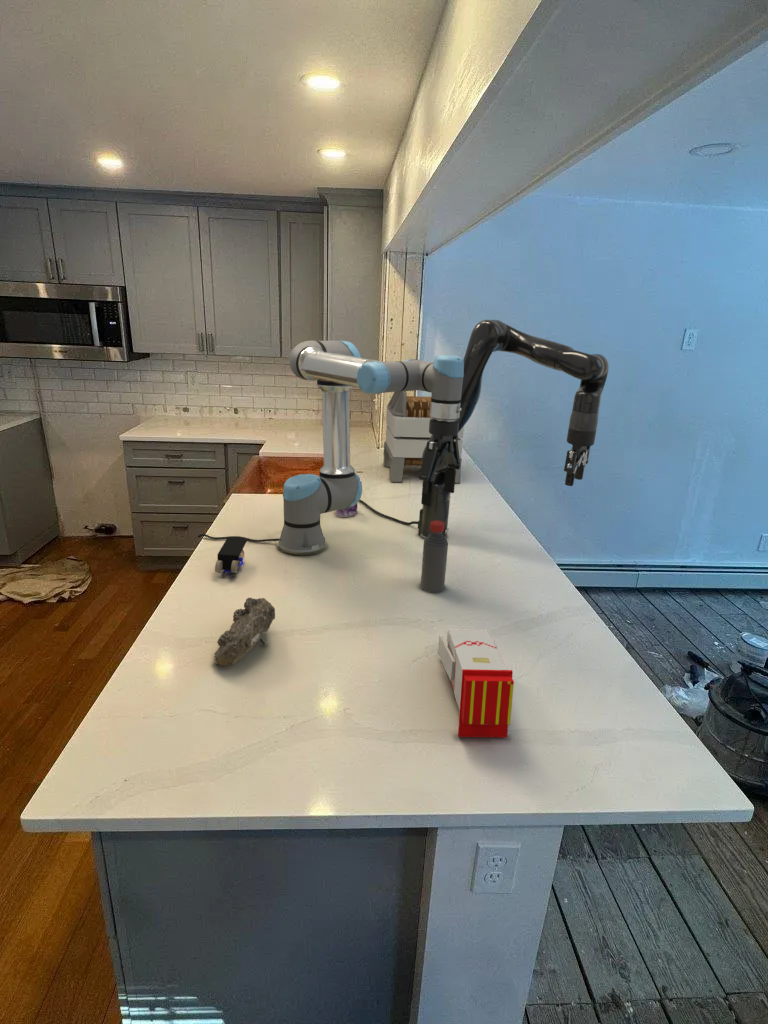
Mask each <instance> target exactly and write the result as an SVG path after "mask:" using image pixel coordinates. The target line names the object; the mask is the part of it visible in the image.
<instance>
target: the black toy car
mask: <svg viewBox="0 0 768 1024" xmlns="http://www.w3.org/2000/svg"><path fill="white" fill-rule="evenodd" d="M247 542H248V540H247V539H241V538H227V539H225V541H224V543H223V544H222V546H221V547H220V549H219V551H218V552H217V560H216V562H215V564H214V572H215V573H221V577H222V578H224V577H225V576H226V574H227V573H230V574H231V573H232V574H231V578H234V577H235V575H236V573H237V572H239V571H240V567H242V566H243V565H244V564H245V562H244V558H245V551H244V547H245V546H246V544H247Z"/></svg>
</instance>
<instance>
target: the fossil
mask: <svg viewBox="0 0 768 1024" xmlns="http://www.w3.org/2000/svg"><path fill="white" fill-rule="evenodd" d="M243 607H244V608H238V609H235V610H234V612H233V615H232V621H233V623H232V624H231V625H230V627H229V630H225V631H224V633H222V634H221V635H220V636H219V637H218V639H217V645H218V646H219V647H218V648H217V650H215V652H214V663H215V664H216V665H220V666H221V667H225V666H228V665H232V664H236V663H237V662H238V661H240V659H241V658H243V657H244V656H245V655H247V653H248V652H249V651H251V650H252V649H253V648H254V647H255V646H256V644H257V642H258V641H259V642H261V644H262V645H265V644H266V642H264V640H263V638H262V636H263V635H264V634H265V633H267V632H268V630H269V629H270V627H271V624H272V623H273V621H274V620H275V618H276V609H275V607H274V606H273V605H272V603H271V602H269V601H268V600H267V599H266V598H264V597H261V598H260V597H259V598H253V597H247V598H246V599H245V602H244V604H243Z"/></svg>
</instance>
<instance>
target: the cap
mask: <svg viewBox="0 0 768 1024" xmlns="http://www.w3.org/2000/svg"><path fill="white" fill-rule="evenodd" d="M430 530H431V531H433V532H443V531H444V522H442V521H431V523H430Z"/></svg>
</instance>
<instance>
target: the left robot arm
mask: <svg viewBox="0 0 768 1024" xmlns="http://www.w3.org/2000/svg"><path fill="white" fill-rule="evenodd" d="M288 359H289V360H288V361H289V367H290V370H291V371H292V373H293V374H294V375H295V377H297V378H299V379H301V380H305V381H311V382H316V386H317V387H318V388H319V389H320V390H321V403H322V404H321V405H322V442H323V444H322V445H323V465H322V466H321V467H320V469H319V472H318V473H319V475H318V474H314V473H306V474H305V473H300V474H295V475H293V476H291V477H289V478H287V479H286V480H285V482H284V483H283V491H282V498H283V527H282V529H281V533H280V536H279V538H264V539H253V538H249V537H245V536H239V535H230V536H211V535H209V534H206V533H200V534H198V535H197V538H202V537H206V538H208V539H210V540H226V539H227V538H241V539H247V542H248V541H249V542H254V543H263V542H278V549H279V550H280V552H282V553H285V554H287V555H291V556H298V557H299V556H300V557H301V556H302V557H303V556H313V555H317V554H319V553H321V552H322V551H324V550H325V549H326V546H327V545H326V543H327V541H326V538H325V536H324V532H323V529H322V526H321V515H322V514H326V513H331V512H336V510H340V509H346V508H348V507H352V506H354V505H356V503H357V504H358V503H359V500H361V498H362V495H363V483H362V480H361V478H360V476H359V475H358V474H357V473H356V469H355V468H354V467H353V466H352V464H351V426H350V425H351V424H350V422H351V421H350V417H351V416H350V415H351V414H350V391H351V390H352V388H353V387H355V388H359V389H360V390H361V391H362V392H363V393H365V394H372V395H379V394H386V393H394V392H402V391H406V392H412V391H413V392H414V391H419V392H428V393H431V394H430V395H431V396H430V397H431V407H430V417H431V419H430V422H429V433H430V434H432V435H433V436H434V439H433V442H432V441H427V445H426V452H425V455H424V459H423V463H422V466H420V470H419V474H418V480H419V481H422V488H421V502H420V503H421V505H422V506H423V505H428V506H432V499H433V485H434V481H432V479H433V477H434V474H435V471H436V469H437V466H438V464H439V461H440V459H442V458H443V456H444V458H445V461H446V464H447V466H448V468H446V473H445V485H444V491H445V492H450V494H454V493H455V485H456V483H455V476H456V470H455V469H460V466H459V465H460V456H459V448H458V429H459V421H458V420H457V419H458V418H459V416H460V411H461V410H462V409H461V408H460V404H461V393H462V384H463V377H464V361H463V360H464V358H463V357H462V356H459V355H446V354H443V355H442V354H441V355H436V356H434V358H433V362H432V361H428V360H427V361H426V360H421V359H417V358H416V359H415V358H414V359H413V358H408V359H404V360H398V361H397V360H395V361H381V360H377V359H370V358H364V357H361V354H360V352H359V350H358V348H357V346H356V345H354V343H353V342H350V341H348V340H339V339H337V340H336V339H335V340H305V341H302V342H299V343H298V344H297V345H295V346H294V348H292V350H291V352H290V354H289V358H288ZM456 460H457V461H456Z"/></svg>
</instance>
